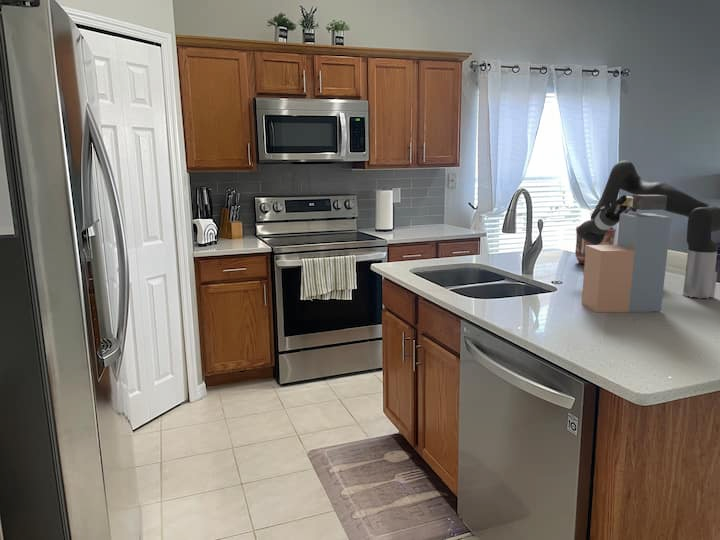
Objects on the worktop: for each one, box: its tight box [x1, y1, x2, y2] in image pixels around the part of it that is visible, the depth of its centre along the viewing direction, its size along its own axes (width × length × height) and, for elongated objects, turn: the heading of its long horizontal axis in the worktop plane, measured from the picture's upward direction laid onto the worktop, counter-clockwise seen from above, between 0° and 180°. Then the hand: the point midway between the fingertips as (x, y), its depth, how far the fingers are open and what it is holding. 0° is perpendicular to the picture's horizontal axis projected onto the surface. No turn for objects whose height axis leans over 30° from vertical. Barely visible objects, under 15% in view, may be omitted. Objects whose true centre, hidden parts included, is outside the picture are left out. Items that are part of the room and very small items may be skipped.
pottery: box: [575, 225, 617, 266], centre depth 264 cm, size 18×18×18 cm
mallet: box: [618, 194, 667, 211], centre depth 189 cm, size 21×8×4 cm, turn 1°
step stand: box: [581, 212, 672, 313], centre depth 188 cm, size 22×12×32 cm, turn 91°
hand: (630, 197), depth 194 cm, fingers closed on mallet, 3 cm apart
